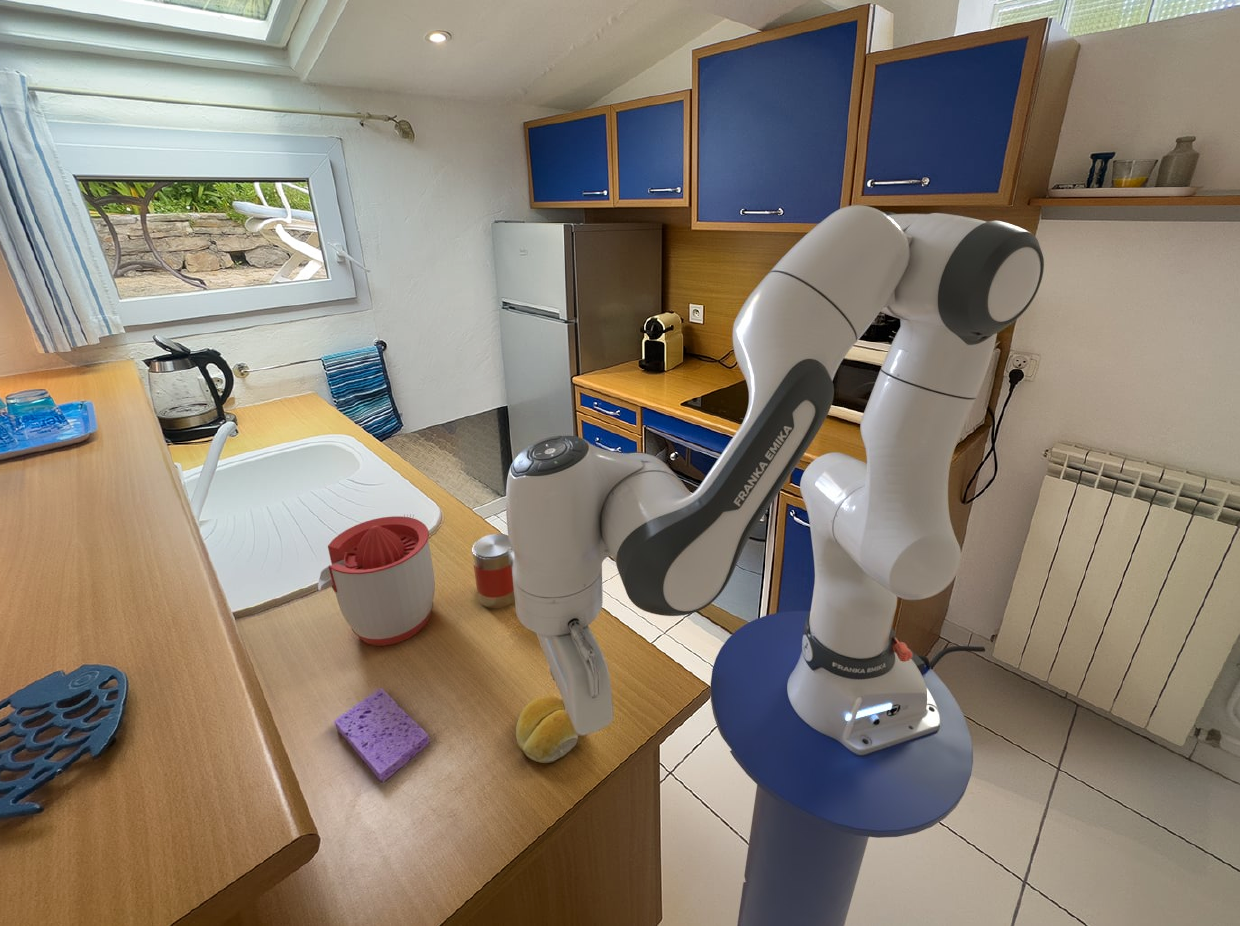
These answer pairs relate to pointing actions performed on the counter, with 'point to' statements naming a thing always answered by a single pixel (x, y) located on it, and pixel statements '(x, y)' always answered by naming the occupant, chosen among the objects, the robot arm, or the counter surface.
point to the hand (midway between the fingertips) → (565, 690)
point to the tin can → (493, 570)
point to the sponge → (381, 734)
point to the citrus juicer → (382, 578)
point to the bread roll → (545, 730)
